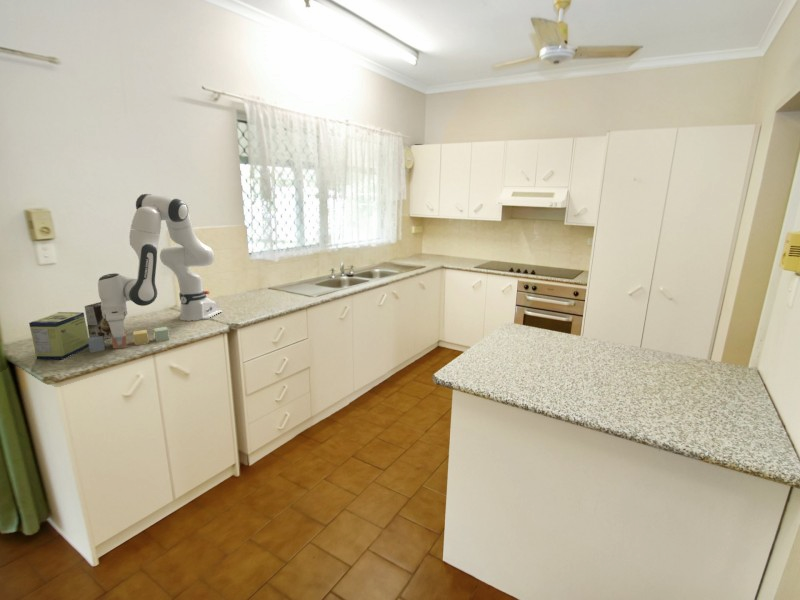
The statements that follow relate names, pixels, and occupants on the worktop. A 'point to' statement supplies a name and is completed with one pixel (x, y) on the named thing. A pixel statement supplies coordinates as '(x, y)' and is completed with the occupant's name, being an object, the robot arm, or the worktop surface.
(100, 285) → the robot arm
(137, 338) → the ochre block
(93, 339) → the slate block
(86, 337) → the protein box
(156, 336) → the sage block
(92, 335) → the coffee box
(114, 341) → the terracotta block
